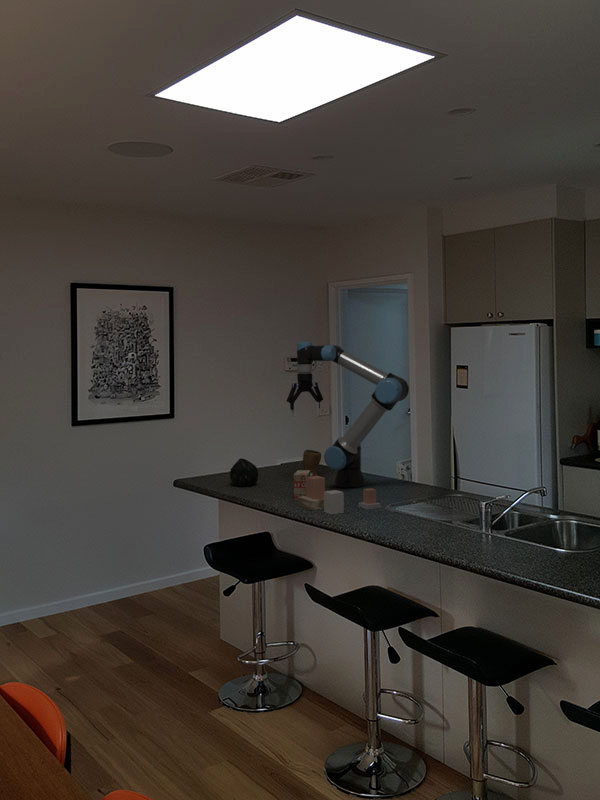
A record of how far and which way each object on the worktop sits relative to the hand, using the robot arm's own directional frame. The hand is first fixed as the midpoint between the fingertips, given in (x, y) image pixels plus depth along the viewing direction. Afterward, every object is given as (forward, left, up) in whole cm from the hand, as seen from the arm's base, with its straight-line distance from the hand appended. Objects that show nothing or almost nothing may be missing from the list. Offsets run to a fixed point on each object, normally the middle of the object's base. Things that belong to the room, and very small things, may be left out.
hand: (305, 415), depth 377 cm
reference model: (+1, +57, -36) cm, 67 cm away
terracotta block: (+20, +43, -32) cm, 57 cm away
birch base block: (+20, +43, -36) cm, 59 cm away
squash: (+24, -22, -36) cm, 49 cm away
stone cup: (-16, -25, -36) cm, 47 cm away
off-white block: (+20, +58, -36) cm, 71 cm away
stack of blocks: (+12, +19, -36) cm, 43 cm away
